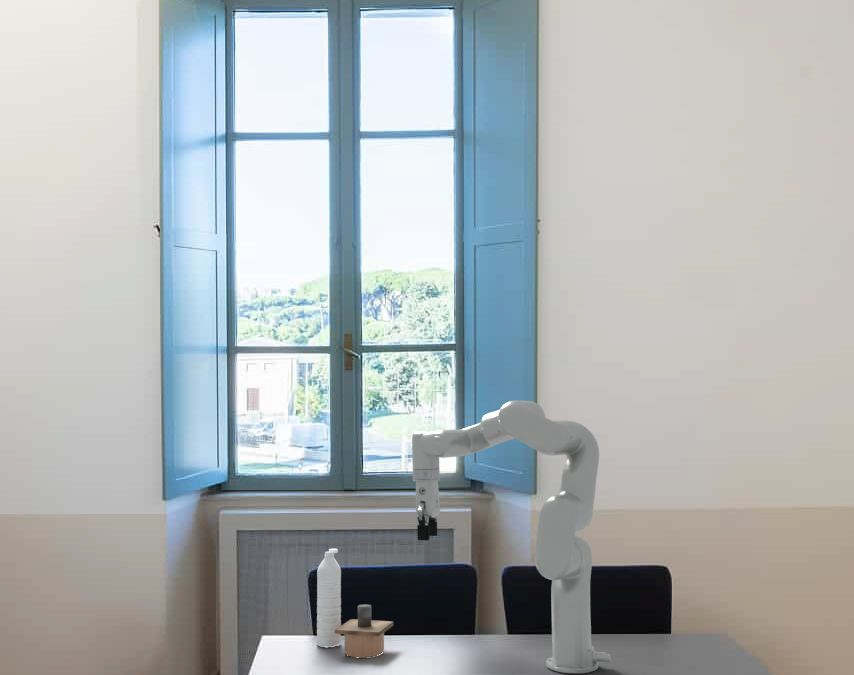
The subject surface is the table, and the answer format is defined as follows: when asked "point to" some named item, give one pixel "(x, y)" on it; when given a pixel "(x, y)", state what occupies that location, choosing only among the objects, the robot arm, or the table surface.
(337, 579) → the water bottle
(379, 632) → the lid
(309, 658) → the table surface
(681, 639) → the table surface
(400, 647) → the table surface
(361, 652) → the bowl
